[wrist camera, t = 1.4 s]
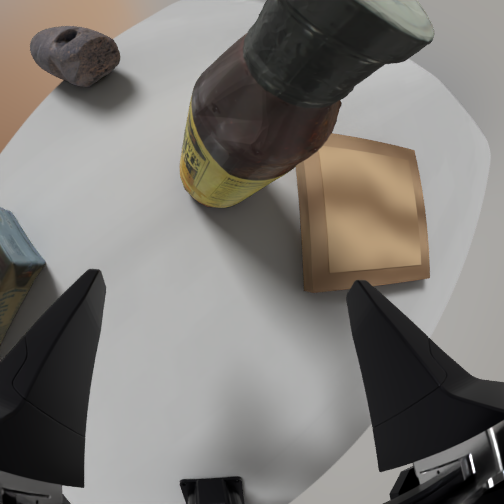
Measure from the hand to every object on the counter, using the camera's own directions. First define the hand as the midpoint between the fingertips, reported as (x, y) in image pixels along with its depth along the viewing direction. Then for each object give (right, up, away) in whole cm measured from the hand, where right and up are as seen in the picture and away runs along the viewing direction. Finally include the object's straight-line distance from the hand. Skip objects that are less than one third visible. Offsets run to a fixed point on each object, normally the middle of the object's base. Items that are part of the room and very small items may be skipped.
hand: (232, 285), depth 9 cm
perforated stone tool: (-20, +22, +11) cm, 31 cm away
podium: (+12, +5, +16) cm, 20 cm away
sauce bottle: (-2, +7, +13) cm, 15 cm away
